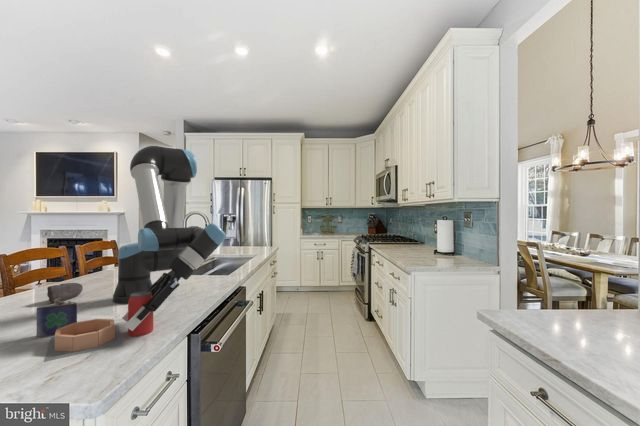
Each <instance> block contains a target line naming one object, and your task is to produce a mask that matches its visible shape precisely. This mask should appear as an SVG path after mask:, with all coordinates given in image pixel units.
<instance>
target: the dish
mask: <svg viewBox="0 0 640 426" xmlns="http://www.w3.org/2000/svg"><path fill="white" fill-rule="evenodd" d="M115 325H116V324H115V320H114V319H111V318H110V319H109V318H94V319H89V320H88V319H87V320H82V321H77V322H75V323H72V324H69V325H67V326H64V327H61V328H59V329H57V330H56V332H55V335H54V337H55V348H54V350H55V351H68V352H74V351H79V350H84V349H88V348H93V347H98V346H100V345H102V344H104V343H106V342H108V341H110V340H112V339H114V338H115Z"/></svg>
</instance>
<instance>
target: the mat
mask: <svg viewBox="0 0 640 426" xmlns="http://www.w3.org/2000/svg"><path fill="white" fill-rule="evenodd" d="M122 345H124V342H123V339H122V334H121V332H120V327H119V324H115V338H114V339H112V340H110V341H108V342H106V343H104V344H102V345H100V346H98V347H93V348H88V349H84V350H79V351H74V352H68V351H55V350H54V348H55V336H51V337H50V340H49V343H48V346H47V350H46V353H45V357H44V360H43V362H44V363H45V362H49V361H55V360H60V359H64V358H67V357H72V356H76V355H77V356H78V355H81V354H86V353H91V352H96V351H100V350H105V349H108V348H113V347H119V346H122Z"/></svg>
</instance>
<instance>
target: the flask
mask: <svg viewBox="0 0 640 426" xmlns="http://www.w3.org/2000/svg"><path fill="white" fill-rule="evenodd" d="M54 301H55V302H53V303H54V304H52V303H51V304H46V305H45V304H44V305H40V306H37V307H36V325H35V327H36V335H35V337H36V338H42V337H49V336H55V332H56V330H57V329H59V328H61V327H64V326H67V325H69V324H72V323H75V322H78V304H77V302H76V301H70V300H68V301H67V300H66V301H60V298H57V299H55V300H54Z"/></svg>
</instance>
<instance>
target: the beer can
mask: <svg viewBox="0 0 640 426" xmlns="http://www.w3.org/2000/svg"><path fill="white" fill-rule="evenodd" d="M152 297H153V296H152V294H151V292H150V291H141V292H135V293H132V294H131V295H130V298H129V301H128V303H127V312H128V321H129V320H130V319H131V318H132V317H133V316H134V315H135V314H136V313H137V312H138V311H139V310H140V309H141V308H142V307H143V306H142V305H143V304H147V303H148V301H149V300H150V299H151V298H152ZM153 331H154V311H152V312H150V313H149V314H148V315H147V316H146V318H145V319H144V320H143V321H142V322H141V323H140V324H139V325H138V326H137V327H136V328H135V329H134V330H133V331H131V330H130V329H128V328H127V335H128V336H130V337H142V336H146V335H148V334H149V335H150V333H152V332H153Z"/></svg>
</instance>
